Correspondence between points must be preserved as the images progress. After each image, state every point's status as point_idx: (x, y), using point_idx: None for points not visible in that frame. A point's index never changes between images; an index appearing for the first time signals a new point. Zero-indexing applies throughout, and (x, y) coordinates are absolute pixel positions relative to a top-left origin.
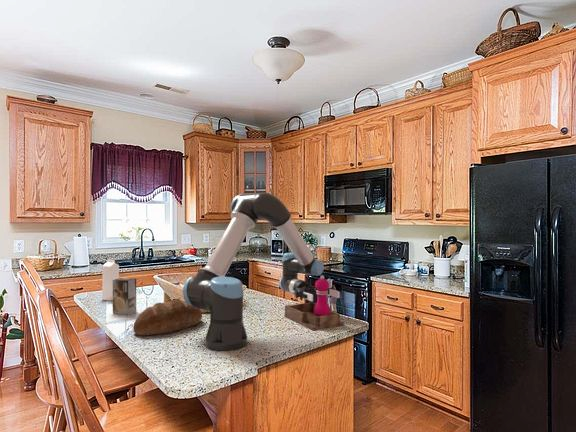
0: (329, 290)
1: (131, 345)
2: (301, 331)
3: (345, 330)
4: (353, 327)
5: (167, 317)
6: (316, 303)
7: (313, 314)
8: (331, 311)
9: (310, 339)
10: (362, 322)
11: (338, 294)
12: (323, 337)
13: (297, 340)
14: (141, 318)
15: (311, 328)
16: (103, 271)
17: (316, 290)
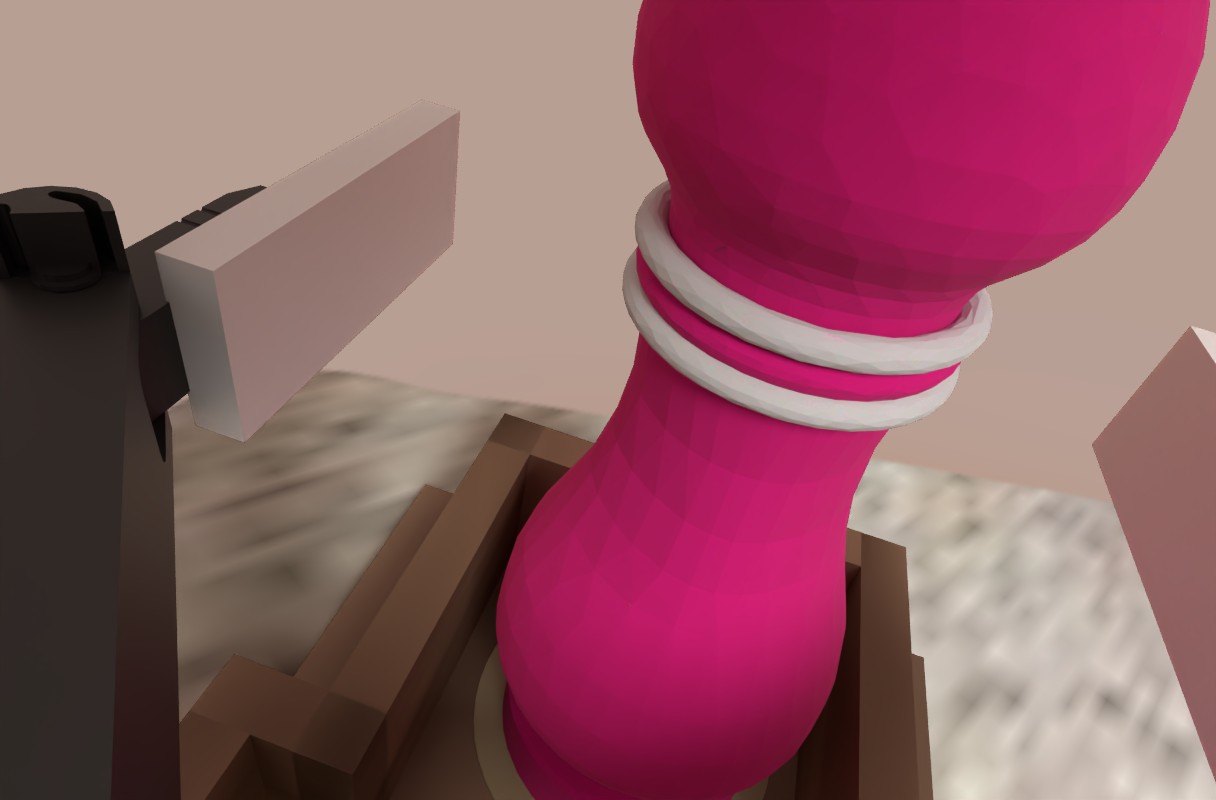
0: (224, 306)
1: None
2: (1068, 770)
3: (597, 431)
4: (445, 412)
5: None
6: (828, 584)
7: (863, 690)
8: (444, 559)
9: (1069, 541)
10: (174, 405)
11: (446, 169)
12: (924, 487)
13: None
14: None
15: (919, 693)
16: None
17: (959, 346)
